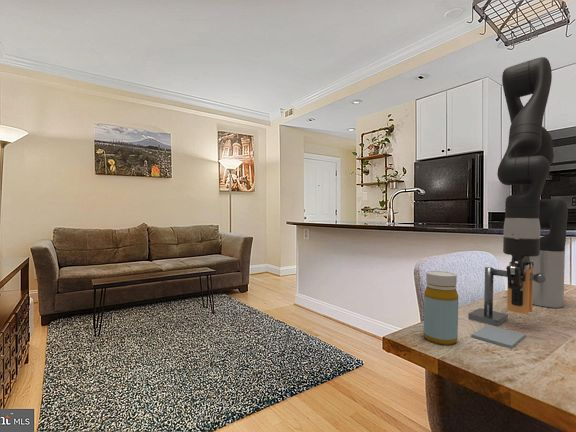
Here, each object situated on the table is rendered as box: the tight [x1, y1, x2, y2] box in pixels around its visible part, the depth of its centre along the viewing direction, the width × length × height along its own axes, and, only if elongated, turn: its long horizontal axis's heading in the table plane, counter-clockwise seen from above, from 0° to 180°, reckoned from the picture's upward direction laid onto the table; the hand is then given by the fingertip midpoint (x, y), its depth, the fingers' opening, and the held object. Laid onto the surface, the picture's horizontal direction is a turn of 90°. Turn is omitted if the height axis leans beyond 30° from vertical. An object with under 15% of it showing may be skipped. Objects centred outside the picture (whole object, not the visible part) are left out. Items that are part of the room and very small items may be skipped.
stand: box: [467, 266, 546, 327], centre depth 84 cm, size 8×16×14 cm, turn 40°
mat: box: [470, 324, 526, 349], centre depth 75 cm, size 10×8×1 cm
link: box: [506, 268, 534, 315], centre depth 82 cm, size 4×4×11 cm
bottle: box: [422, 270, 459, 346], centre depth 74 cm, size 7×7×15 cm
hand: (519, 303), depth 82 cm, fingers closed on link, 4 cm apart
